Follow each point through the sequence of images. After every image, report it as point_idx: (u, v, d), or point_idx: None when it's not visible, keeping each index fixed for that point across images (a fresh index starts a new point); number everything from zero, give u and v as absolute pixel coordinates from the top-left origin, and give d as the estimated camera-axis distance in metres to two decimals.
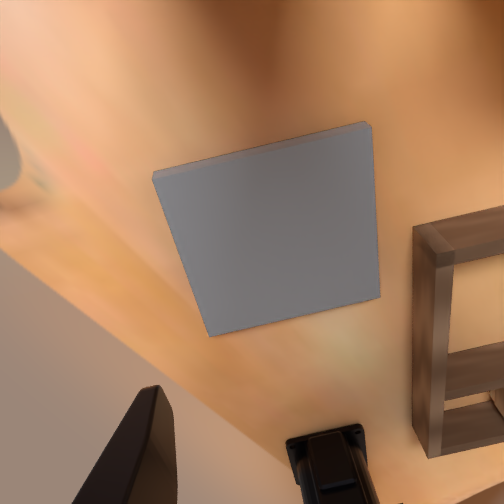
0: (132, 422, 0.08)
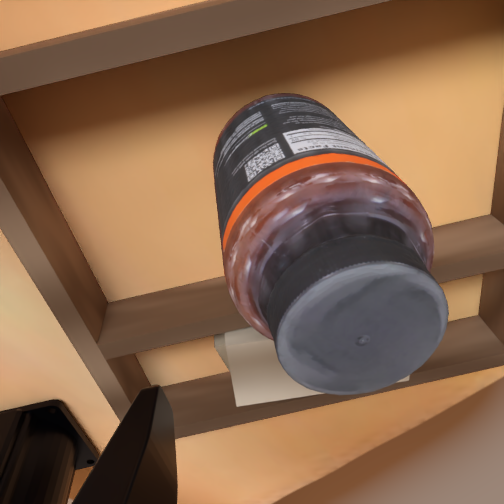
0: (132, 422, 0.08)
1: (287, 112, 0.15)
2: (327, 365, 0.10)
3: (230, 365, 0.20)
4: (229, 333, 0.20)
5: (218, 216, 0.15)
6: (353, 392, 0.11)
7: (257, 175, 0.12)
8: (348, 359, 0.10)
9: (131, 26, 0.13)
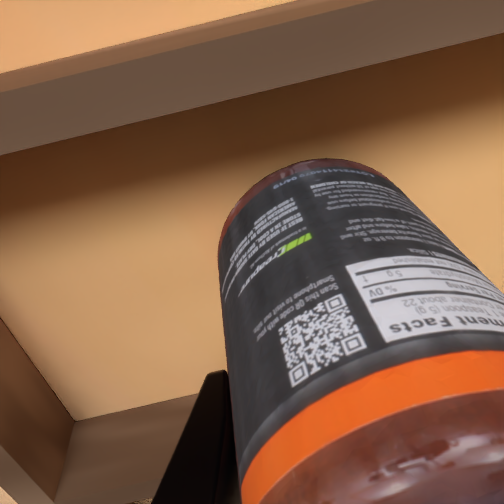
0: (206, 405, 0.08)
1: (341, 208, 0.09)
2: None
3: None
4: None
5: (228, 371, 0.09)
6: None
7: (310, 382, 0.06)
8: None
9: (74, 74, 0.07)
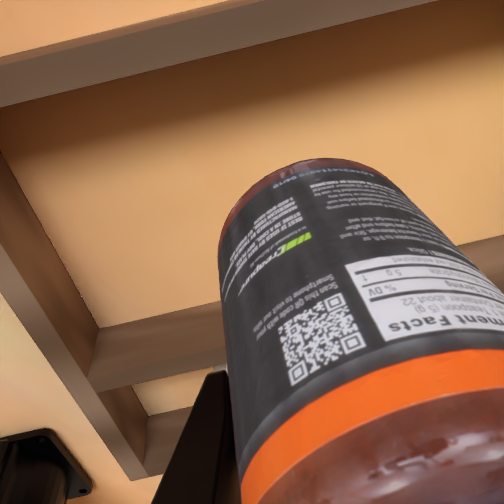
0: (206, 405, 0.08)
1: (342, 209, 0.09)
2: None
3: None
4: None
5: (228, 370, 0.09)
6: None
7: (309, 380, 0.06)
8: None
9: (118, 37, 0.12)
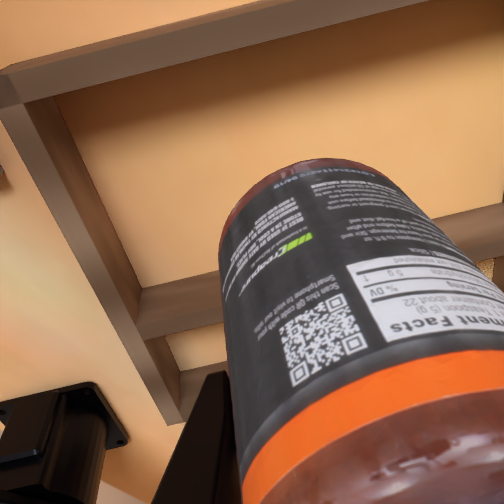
0: (206, 405, 0.08)
1: (342, 208, 0.09)
2: None
3: None
4: None
5: (228, 371, 0.09)
6: None
7: (311, 381, 0.06)
8: None
9: (180, 30, 0.15)
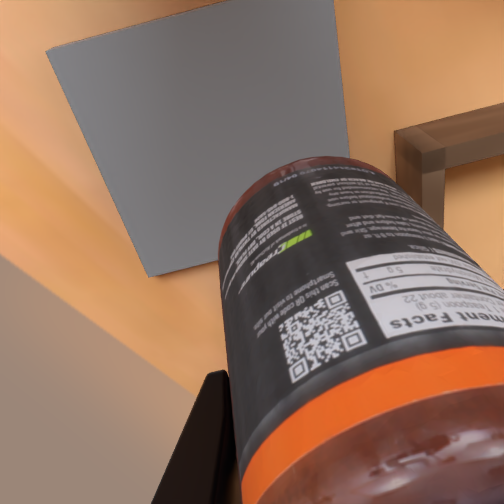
0: (206, 405, 0.08)
1: (343, 206, 0.09)
2: None
3: None
4: None
5: (228, 368, 0.09)
6: None
7: (310, 377, 0.06)
8: None
9: None
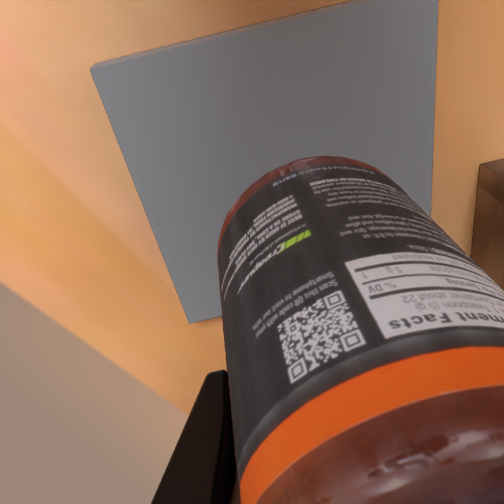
0: (206, 405, 0.08)
1: (341, 206, 0.09)
2: None
3: None
4: None
5: (227, 369, 0.09)
6: None
7: (308, 378, 0.06)
8: None
9: None
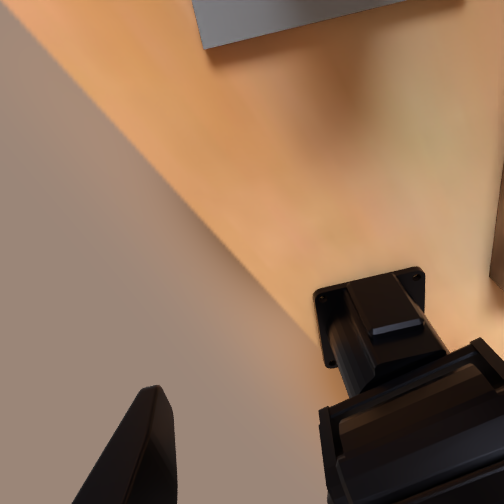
0: (132, 422, 0.08)
1: None
2: None
3: None
4: None
5: None
6: None
7: None
8: None
9: None
